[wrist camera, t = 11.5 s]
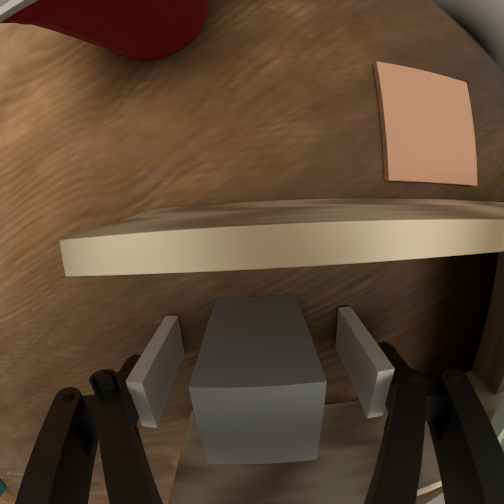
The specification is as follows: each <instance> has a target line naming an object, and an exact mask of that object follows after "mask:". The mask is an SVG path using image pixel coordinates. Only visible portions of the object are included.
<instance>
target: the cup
mask: <svg viewBox="0 0 504 504" xmlns="http://www.w3.org/2000/svg"><path fill="white" fill-rule="evenodd" d="M5 489H6V487H5V485H4V483H3V482H2V481H1V480H0V497H1V495H2V494H3V492H4V491H5Z"/></svg>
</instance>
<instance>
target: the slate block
mask: <svg viewBox="0 0 504 504" xmlns="http://www.w3.org/2000/svg"><path fill="white" fill-rule="evenodd" d="M326 385H327V380H326V377H325V374H324V371H323V369H322V366H321V363H320V360H319V357H318V354H317V352H316V349H315V346H314V343H313V340H312V338H311V335H310V332H309V329H308V326H307V324H306V321H305V318H304V316H303V313H302V310H301V307H300V305H299V302H298V299H297V297H296V294H290V295H274V296H255V297H234V298H216V299H215V302H214V305H213V309H212V312H211V315H210V318H209V321H208V324H207V328H206V331H205V334H204V337H203V341H202V344H201V347H200V350H199V354H198V357H197V360H196V363H195V367H194V370H193V373H192V377H191V380H190V383H189V387H188V388H189V392H190V397H191V401H192V405H193V410H194V414H195V418H196V422H197V426H198V430H199V433H200V437H201V441H202V445H203V448H204V452H205V455H206V459H207V462H208V464H270V463H285V462H296V461H306V460H314V459H317V453H318V447H319V441H320V434H321V427H322V419H323V411H324V403H325V394H326Z"/></svg>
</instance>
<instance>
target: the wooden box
mask: <svg viewBox="0 0 504 504" xmlns="http://www.w3.org/2000/svg"><path fill="white" fill-rule="evenodd" d="M59 241H60V247H61V253H62V259H63V265H64V270H65V275H66V276H98V275H131V274H159V273H184V272H207V271H229V270H249V269H268V268H286V267H303V266H320V265H336V264H351V263H366V262H380V261H394V260H407V259H420V258H433V257H445V256H457V255H469V254H480V253H491V252H498V260H497V267H496V274H495V280H494V286H493V291H492V297H491V302H490V306H489V311H488V315H487V319H486V323H485V327H484V331H483V335H482V338H481V342H480V345H479V349H478V352H477V355H476V358H475V361H474V364H473V367H472V370H471V371H468V372H465V374H466V375H467V377H468V379H469V381H470V382H471V384H472V386H473V388H474V390H475V392H476V394H477V396H478V398H479V400H480V402H481V404H482V406H483V408H484V410H485V412H486V414H487V416H488V418H489V420H490V421H491V420H492V418H493V416H494V414H495V412H496V410H497V408H498V406H499V404H500V402H501V400H502V398H503V396H504V392H503V391H504V202H489V201H471V200H449V199H412V198H338V199H299V200H274V201H254V202H236V203H221V204H206V205H193V206H181V207H170V208H159V209H155V210H151V211H148V212H145V213H141V214H138V215H135V216H131V217H128V218H125V219H121V220H118V221H115V222H112V223H109V224H106V225H103V226H100V227H96V228H93V229H90V230H87V231H84V232H82V233H79V234H76V235H73V236H70V237H67V238H64V239H61V240H59ZM387 416H388V410H387V408H386V407H385V409H384V413H383V415H382V416H377V417H373V418H368V419H367V416H366V414H365V412H364V409H363V407H362V405H361V403H360V400H355V401H349V402H342V403H335V404H328V405H324V411H323V419H322V427H321V434H320V441H319V447H318V453H317V459H314V460H306V461H296V462H285V463H270V464H208V462H207V459H206V455H205V452H204V448H203V445H202V441H201V437H200V433H199V430H198V426H197V422H196V418H195V414H194V411H191V414H190V418H189V422H188V426H187V430H186V434H185V438H184V442H183V446H182V450H181V454H180V459H179V463H178V467H177V471H176V475H175V479H174V484H173V488H172V492H171V497H170V501H169V504H364V501H365V498H366V495H367V492H368V489H369V486H370V483H371V479H372V476H373V472H374V469H375V465H376V462H377V458H378V454H379V450H380V446H381V442H382V438H383V433H384V429H383V428H384V425H385V422H386V419H387ZM441 486H442V482H441V477H440V472H439V467H438V463H437V458H436V454H435V450H434V446H433V442H432V438H431V434H430V430H429V426H428V423H427V421H425V433H424V445H423V455H422V464H421V472H420V478H419V485H418V491H417V496H418V495H421V494H424V493H426V492H429V491H431V490H434V489H436V488H438V487H441Z"/></svg>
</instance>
